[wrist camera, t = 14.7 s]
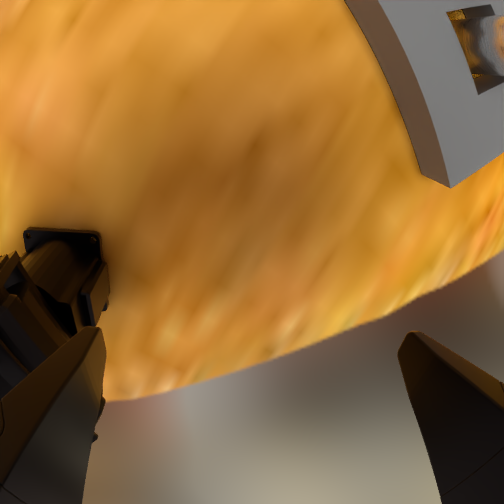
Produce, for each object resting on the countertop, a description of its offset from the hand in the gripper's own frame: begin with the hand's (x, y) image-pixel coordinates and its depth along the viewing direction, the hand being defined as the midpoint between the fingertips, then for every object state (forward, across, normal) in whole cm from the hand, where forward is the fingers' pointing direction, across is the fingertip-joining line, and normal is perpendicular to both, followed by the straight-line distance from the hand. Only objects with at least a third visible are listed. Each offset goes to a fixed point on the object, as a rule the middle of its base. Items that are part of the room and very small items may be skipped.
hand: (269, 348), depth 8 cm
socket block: (+13, -15, -15) cm, 25 cm away
